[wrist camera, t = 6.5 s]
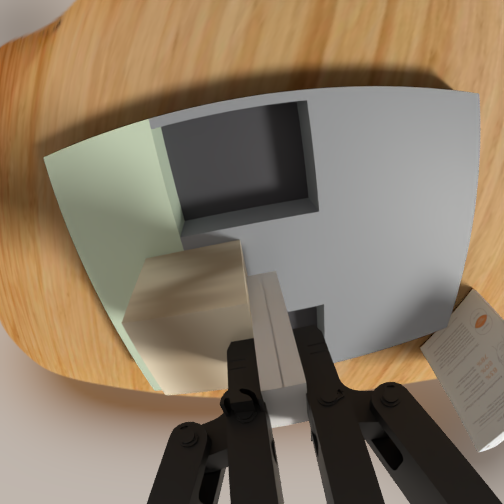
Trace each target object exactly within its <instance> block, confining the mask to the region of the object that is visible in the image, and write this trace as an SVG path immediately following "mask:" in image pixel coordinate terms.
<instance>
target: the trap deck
mask: <svg viewBox="0 0 504 504" xmlns="http://www.w3.org/2000/svg"><path fill="white" fill-rule="evenodd" d="M479 158H480V100H479V94H478V93H471V92H464V91H457V90H448V89H437V88H423V87H403V86H349V87H329V88H314V89H303V90H293V91H284V92H276V93H268V94H261V95H254V96H248V97H242V98H236V99H230V100H225V101H220V102H215V103H210V104H205V105H201V106H196V107H192V108H187V109H183V110H179V111H175V112H171V113H167V114H164V115H160V116H156V117H153V118H149V119H146V120H142V121H139V122H136V123H132V124H129V125H126V126H123V127H120V128H117V129H114V130H111V131H108V132H105V133H102V134H100V135H97V136H94V137H91V138H89V139H86V140H83V141H81V142H78V143H76V144H73V145H71V146H68V147H66V148H64V149H61V150H59V151H57V152H54V153H52V154H50V155H48V156H46V157H44V162H45V165H46V168H47V172H48V175H49V178H50V181H51V184H52V187H53V190H54V193H55V196H56V199H57V202H58V204H59V207H60V210H61V213H62V215H63V218H64V220H65V223H66V226H67V228H68V231H69V233H70V236H71V238H72V240H73V243H74V245H75V247H76V250H77V252H78V254H79V257H80V259H81V261H82V263H83V265H84V268H85V270H86V272H87V274H88V276H89V278H90V280H91V282H92V284H93V286H94V288H95V291H96V292H97V294H98V296H99V298H100V300H101V302H102V304H103V306H104V308H105V310H106V312H107V314H108V315H109V317H110V319H111V321H112V323H113V325H114V326H115V328H116V330H117V332H118V333H119V335H120V337H121V339H122V340H123V342H124V344H125V345H126V347H127V349H128V350H129V352H130V354H131V355H132V357H133V358H134V360H135V362H136V363H137V365H138V366H139V368H140V369H141V371H142V373H143V374H144V376H145V377H146V379H147V380H148V382H149V383H150V385H151V386H152V388H153V389H154V390H155V391H158V390H162V389H161V387H160V386H159V384H158V383H157V381H156V380H155V378H154V377H153V375H152V374H151V372H150V371H149V369H148V367H147V366H146V364H145V363H144V361H143V359H142V358H141V356H140V354H139V353H138V351H137V349H136V348H135V346H134V344H133V343H132V341H131V339H130V337H129V336H128V334H127V332H126V330H125V329H124V327H123V325H122V320H123V317H124V315H125V312H126V309H127V306H128V303H129V301H130V298H131V295H132V293H133V290H134V287H135V285H136V282H137V280H138V277H139V274H140V272H141V269H142V267H143V264H144V262H145V259H146V258H151V257H156V256H160V255H165V254H170V253H175V252H180V251H185V250H190V249H195V248H200V247H205V246H210V245H215V244H220V243H225V242H230V241H236V240H240V243H241V247H242V252H243V257H244V261H245V266H246V271H247V275H248V276H252V275H257V274H262V273H267V272H272V271H276V273H277V277H278V280H279V284H280V287H281V291H282V295H283V298H284V302H285V305H286V309H287V313H288V316H289V320H290V324H291V327H292V329H295V328H300V327H304V326H309V325H313V324H314V325H315V326H316V327H317V328H318V329H319V330H321V331H322V333H323V336H324V339H325V341H326V344H327V347H328V350H329V352H330V355H331V358H332V360H333V363H336V362H340V361H344V360H348V359H351V358H355V357H359V356H362V355H366V354H369V353H373V352H376V351H380V350H383V349H386V348H389V347H393V346H396V345H399V344H402V343H405V342H408V341H411V340H414V339H417V338H420V337H423V336H425V335H428V334H431V333H434V332H436V331H439V330H442V329H444V328H447V326H448V323H449V320H450V317H451V314H452V311H453V307H454V304H455V300H456V297H457V293H458V290H459V286H460V282H461V278H462V274H463V270H464V266H465V261H466V257H467V252H468V247H469V242H470V236H471V231H472V224H473V218H474V211H475V204H476V195H477V185H478V174H479Z"/></svg>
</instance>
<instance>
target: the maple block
mask: <svg viewBox="0 0 504 504" xmlns="http://www.w3.org/2000/svg"><path fill="white" fill-rule="evenodd" d="M247 276H248V275H247V271H246V266H245V261H244V257H243V252H242V247H241V243H240V240H236V241H230V242H225V243H220V244H215V245H210V246H205V247H200V248H195V249H190V250H185V251H180V252H175V253H170V254H165V255H160V256H156V257H151V258H146V259H145V262H144V264H143V267H142V269H141V272H140V274H139V277H138V280H137V282H136V285H135V287H134V290H133V293H132V295H131V298H130V301H129V303H128V306H127V309H126V312H125V315H124V317H123V320H122V325H123V327H124V329H125V330H126V332H127V334H128V336H129V337H130V339H131V341H132V343H133V344H134V346H135V348H136V349H137V351H138V353H139V354H140V356H141V358H142V359H143V361H144V363H145V364H146V366H147V367H148V369H149V371H150V372H151V374H152V375H153V377H154V378H155V380H156V381H157V383H158V384H159V386H160V387H161V389H162V390H163V392H164V393H165V395H175V394H187V393H197V392H206V391H214V390H222V389H228V373H227V371H228V370H227V349H228V347H229V345H230V343H231V342H233V341H239V340H245V339H250V338H254V336H253V328H252V326H253V324H252V317H251V309H250V302H249V294H248V286H247V278H246V277H247Z"/></svg>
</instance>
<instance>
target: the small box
mask: <svg viewBox="0 0 504 504" xmlns="http://www.w3.org/2000/svg"><path fill="white" fill-rule="evenodd" d="M420 349H421V351H422V353H423V354H424V356H425V358H426V359H427V361H428V363H429V364H430V366H431V368H432V370H433V371H434V373H435V375H436V377H437V378H438V380H439V382H440V383H441V385H442V387H443V389H444V390H445V392H446V394H447V395H448V397H449V399H450V401H451V402H452V404H453V406H454V408H455V409H456V411H457V413H458V415H459V417H460V419H461V421H462V423H463V425H464V427H465V429H466V430H467V432H468V434H469V436H470V438H471V440H472V442H473V444H474V446H475V448H476V451H477V452H481V451H485V450H488V449H491V448H493V447H495V446H497V445H498V444H499V443H500V442H502V441H503V440H504V320H503V319H502V318H501V317H500V315H499V314H498V313H497V312H496V311H495V310H494V309H493V308H492V307H491V306H490V305H489V303H488V302H487V301H486V300H485V299H484V298H483V297H482V296H481V295H480V294H479V293H478V292H477V291H476V290H474V289H472V290H471V291H470V293H469V294H468V295H467V296H466V298H465V299H464V300H463V301H462V302H461V304H460V305H459V306H458V307H457V308H456V310H455V311H454V312H453V313H452V314H451V317H450V320H449V323H448V326H447V328H444V329H442V330H439V331H436V332H435V333H434V334H433V335H432V336H431V337H430V338H429V339H428V340H427V341H426V342H425V343H424V344H423V345H422V346H421V347H420Z"/></svg>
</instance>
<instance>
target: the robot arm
mask: <svg viewBox="0 0 504 504" xmlns="http://www.w3.org/2000/svg"><path fill="white" fill-rule="evenodd" d="M246 278H247V286H248V294H249V302H250V309H251V317H252V324H253V326H252V328H253V336H254V338H250V339H245V340H239V341H233V342H231V343H230V345H229V347H228V349H227V370H228V371H227V373H228V391H226V392H225V393H224V395H223V396H222V398H221V401H220V406H221V408H222V410H223V412H224V413H223V414H222V415H221V416H220V417H218V418H216V419H215V420H212V421H210V422H207V423H205V424H202V425H200V424H198V423H195V422H185V423H182V424H180V425H178V426H177V427H176V428H174V429H173V431H172V433H171V435H170V438H169V440H168V443H167V446H166V449H165V452H164V455H163V458H162V461H161V464H160V466H159V469H158V472H157V475H156V478H155V481H154V484H153V487H152V490H151V493H150V496H149V499H148V502H147V504H218V499H219V495H220V491H221V487H222V482H223V478H224V474H225V469H226V467H229V484H230V498H231V504H284V500H283V494H282V488H281V481H280V475H279V468H278V462H277V455H276V449H275V442H274V438H273V434H272V428H274V427H280V426H285V425H290V424H295V423H300V422H305V421H309V423H310V427H311V441H313V444H314V448H315V453H316V457H317V462H318V466H319V470H320V474H321V479H322V483H323V488H324V492H325V497H326V501H327V504H385V503H384V500H383V496H382V493H381V490H380V487H379V483H378V480H377V477H376V474H375V471H374V468H373V465H372V462H371V458H370V456H369V452H368V450H367V446H366V443H365V440H366V441H367V443H368V444H369V445H370V447H371V448H372V450H373V451H374V453H375V454H376V456H377V457H378V458H379V460H380V461H381V462H382V464H383V466H384V467H385V468H386V470H387V471H388V473H389V474H390V476H391V477H392V478H393V480H394V481H395V483H396V484H397V486H398V487H399V488H400V490H401V491H402V492H403V494H404V495H405V497H406V498H407V500H408V501H409V503H410V504H502V503H501V501H500V500H499V499H498V498H497V497H496V495H495V494H494V493H493V491H492V490H491V489H490V488H489V486H488V485H487V484H486V483H485V481H484V480H483V479H482V478H481V477H480V475H479V474H478V473H477V472H476V470H475V469H474V468H473V467H472V466H471V464H470V463H469V462H468V461H467V459H466V458H465V457H464V456H463V455H462V454H461V452H460V451H459V450H458V449H457V447H456V446H455V445H454V444H453V443H452V442H451V440H450V439H449V438H448V437H447V436H446V434H445V433H444V432H443V431H442V430H441V429H440V427H439V426H438V425H437V424H436V423H435V421H434V420H433V419H432V418H431V417H430V416H429V415H428V413H427V412H426V411H425V410H424V409H423V408H422V406H421V405H420V404H419V403H418V402H417V401H416V399H415V398H414V397H413V396H412V395H411V394H410V393H409V391H408V390H407V389H406V388H405V387H404V386H402V385H401V384H398V383H395V382H386V383H383V384H381V385H379V386H378V387H377V388H376V389H375V390H374V391H358V390H353V389H350V388H348V387H346V386H344V384H343V383H342V382H341V381H340V379H339V377H338V374H337V371H336V369H335V366H334V363H333V360H332V358H331V355H330V352H329V350H328V347H327V344H326V341H325V339H324V336H323V333H322V331H321V330H319V329H318V328H317V327H316V326H315V325H314V324H313V325H309V326H304V327H300V328H295V329H292V327H291V324H290V320H289V316H288V313H287V309H286V305H285V302H284V298H283V295H282V291H281V287H280V284H279V280H278V277H277V273H276V271H272V272H267V273H262V274H257V275H252V276H247V277H246Z"/></svg>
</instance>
